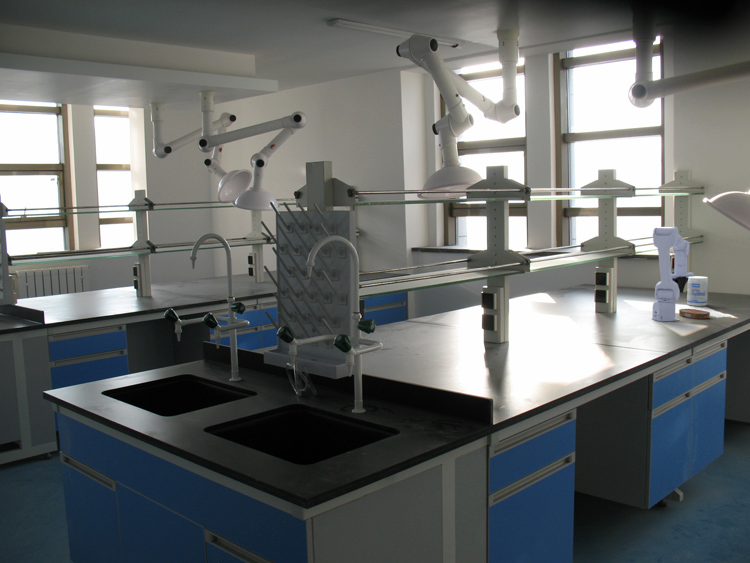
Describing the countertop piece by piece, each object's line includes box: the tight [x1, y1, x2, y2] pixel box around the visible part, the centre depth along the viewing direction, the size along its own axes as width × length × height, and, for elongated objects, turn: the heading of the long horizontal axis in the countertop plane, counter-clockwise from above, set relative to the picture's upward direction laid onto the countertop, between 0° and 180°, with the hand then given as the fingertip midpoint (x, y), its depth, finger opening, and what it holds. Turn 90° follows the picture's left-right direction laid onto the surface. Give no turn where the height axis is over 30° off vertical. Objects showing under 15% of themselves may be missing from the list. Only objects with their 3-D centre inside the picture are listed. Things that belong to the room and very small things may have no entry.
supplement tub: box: [686, 275, 709, 307], centre depth 351 cm, size 10×10×15 cm
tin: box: [678, 308, 711, 320], centre depth 321 cm, size 15×3×8 cm
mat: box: [708, 310, 731, 319], centre depth 324 cm, size 7×15×1 cm, turn 7°
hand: (680, 292), depth 330 cm, fingers closed
